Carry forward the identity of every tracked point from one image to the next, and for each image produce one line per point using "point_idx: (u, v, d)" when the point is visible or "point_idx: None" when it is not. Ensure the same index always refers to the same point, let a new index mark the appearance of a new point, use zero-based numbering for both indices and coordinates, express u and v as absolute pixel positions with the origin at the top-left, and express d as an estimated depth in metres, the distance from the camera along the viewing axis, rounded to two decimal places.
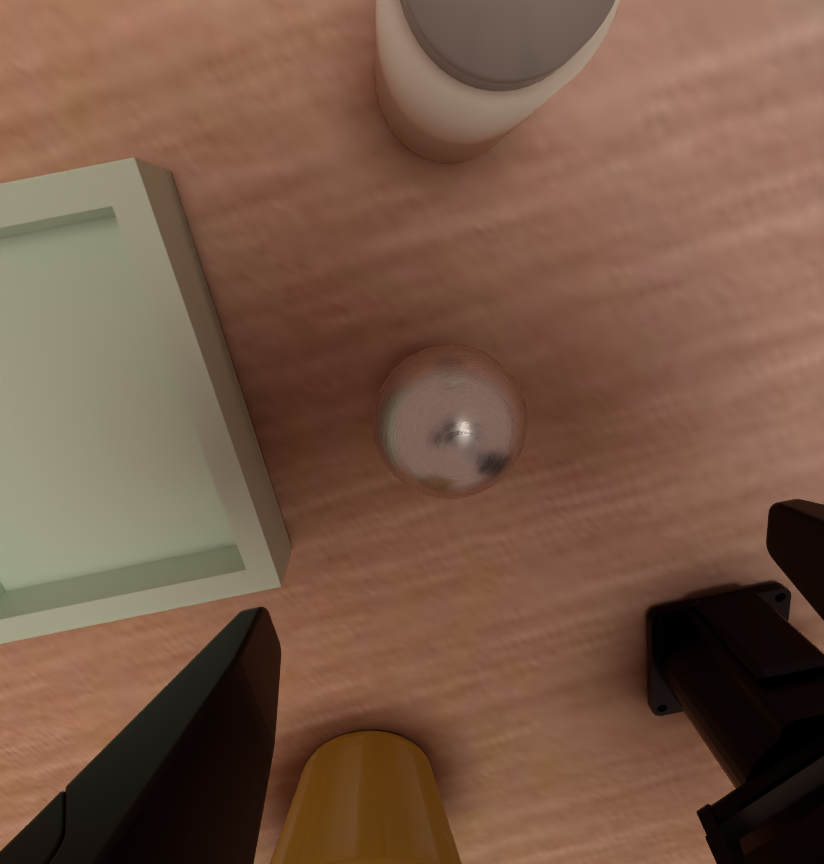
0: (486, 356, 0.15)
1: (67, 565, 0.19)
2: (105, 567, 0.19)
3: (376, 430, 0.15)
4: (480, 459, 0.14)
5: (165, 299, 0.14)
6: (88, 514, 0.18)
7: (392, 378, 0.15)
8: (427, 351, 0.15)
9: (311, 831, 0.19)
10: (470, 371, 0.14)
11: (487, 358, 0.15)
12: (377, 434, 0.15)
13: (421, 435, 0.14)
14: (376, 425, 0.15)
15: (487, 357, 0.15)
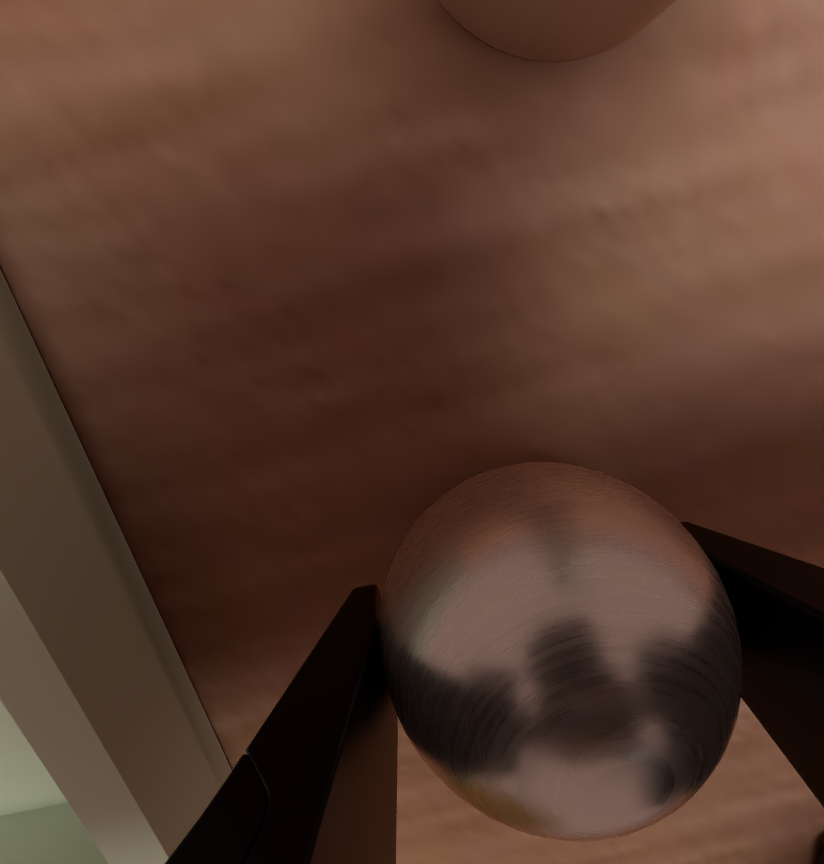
0: (648, 505, 0.06)
1: None
2: None
3: (388, 673, 0.07)
4: (664, 805, 0.05)
5: None
6: None
7: (427, 559, 0.06)
8: (509, 493, 0.06)
9: None
10: (633, 570, 0.05)
11: (654, 513, 0.06)
12: (391, 684, 0.07)
13: (511, 752, 0.05)
14: (388, 664, 0.07)
15: (651, 509, 0.06)
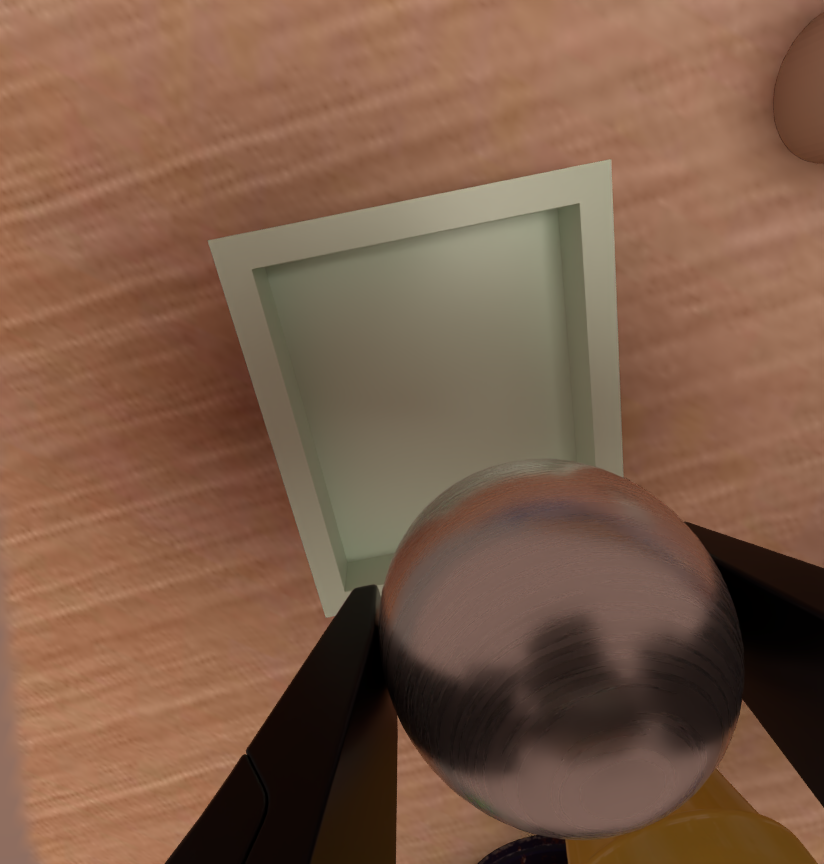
0: (649, 502, 0.06)
1: None
2: None
3: (387, 671, 0.07)
4: (666, 803, 0.05)
5: (601, 288, 0.16)
6: (438, 490, 0.20)
7: (426, 556, 0.06)
8: (509, 490, 0.06)
9: None
10: (634, 567, 0.05)
11: (655, 510, 0.06)
12: (390, 682, 0.06)
13: (511, 750, 0.05)
14: (387, 661, 0.06)
15: (652, 505, 0.06)
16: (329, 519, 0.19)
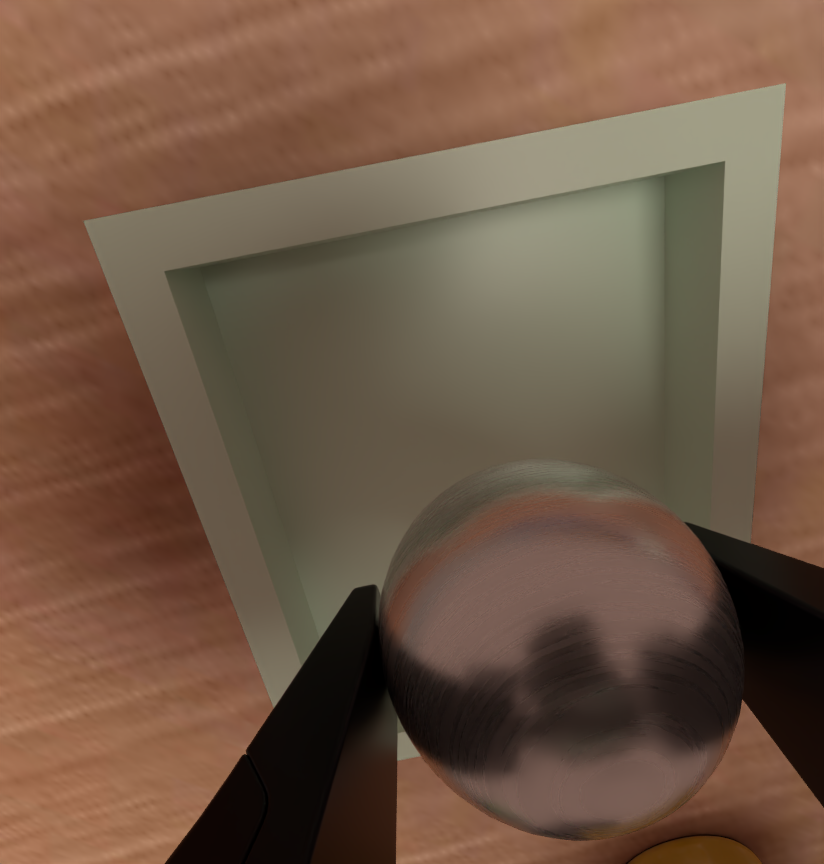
0: (649, 502, 0.06)
1: None
2: None
3: (387, 671, 0.07)
4: (666, 804, 0.05)
5: (745, 304, 0.10)
6: None
7: (426, 556, 0.06)
8: (509, 490, 0.06)
9: None
10: (635, 567, 0.05)
11: (655, 510, 0.06)
12: (390, 682, 0.06)
13: (511, 751, 0.05)
14: (387, 662, 0.06)
15: (653, 505, 0.06)
16: (306, 642, 0.13)
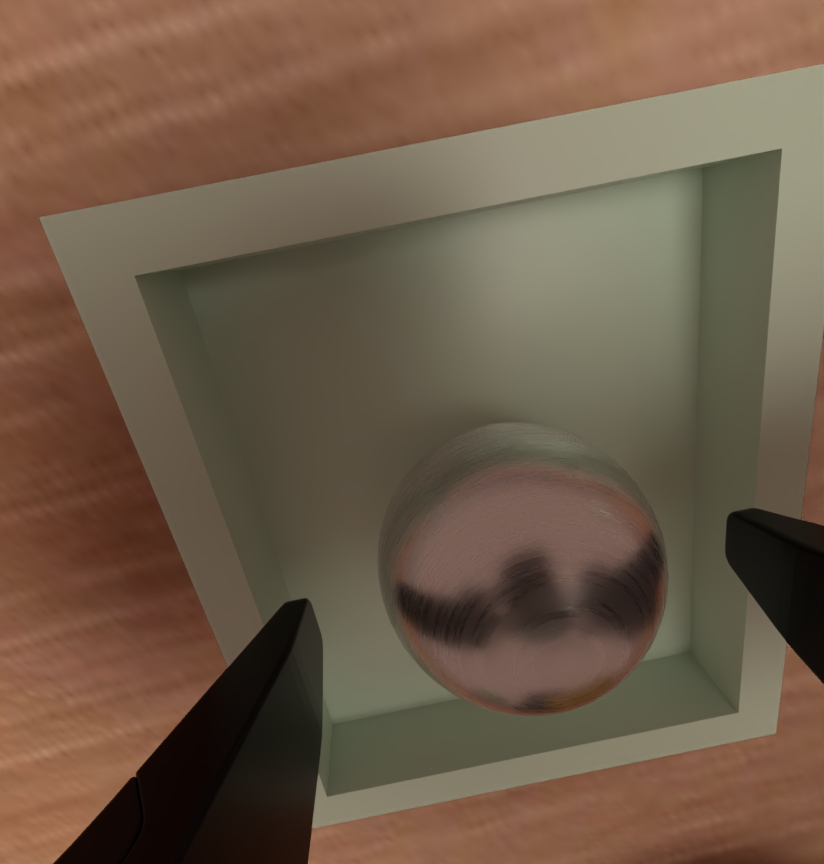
0: (594, 451, 0.08)
1: (425, 689, 0.13)
2: None
3: (385, 589, 0.08)
4: (599, 676, 0.07)
5: (798, 312, 0.08)
6: None
7: (415, 494, 0.08)
8: (482, 442, 0.08)
9: None
10: (576, 495, 0.07)
11: (598, 457, 0.08)
12: (387, 597, 0.08)
13: (479, 631, 0.07)
14: (385, 581, 0.08)
15: (597, 454, 0.08)
16: None
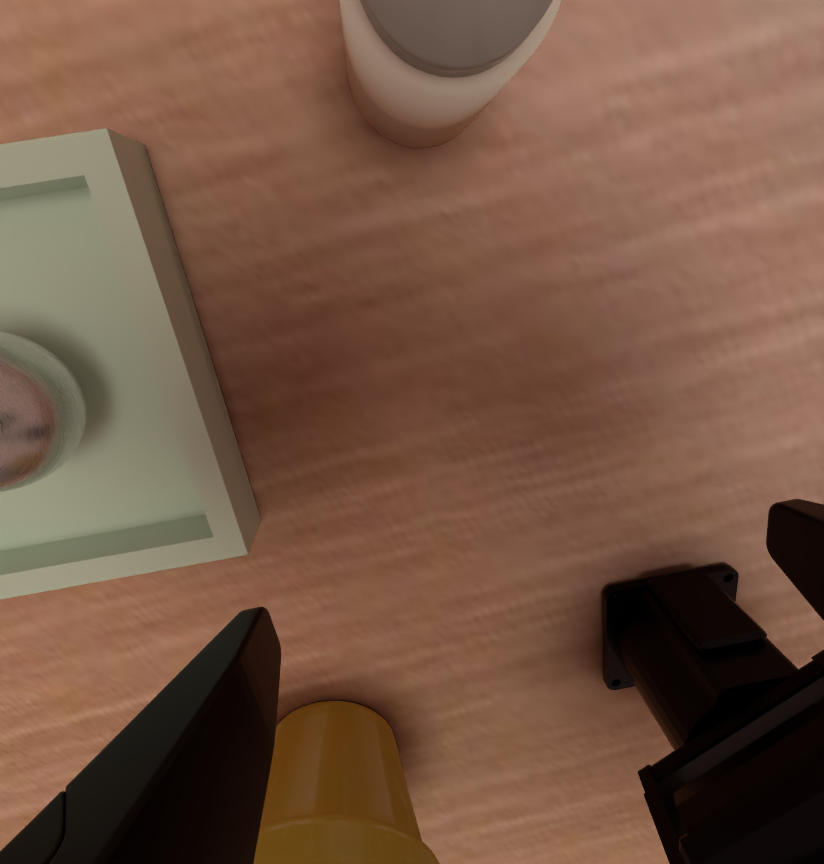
0: None
1: (38, 531, 0.19)
2: (76, 533, 0.20)
3: None
4: None
5: (136, 268, 0.15)
6: (59, 481, 0.19)
7: None
8: None
9: (272, 791, 0.20)
10: None
11: None
12: None
13: None
14: None
15: None
16: None
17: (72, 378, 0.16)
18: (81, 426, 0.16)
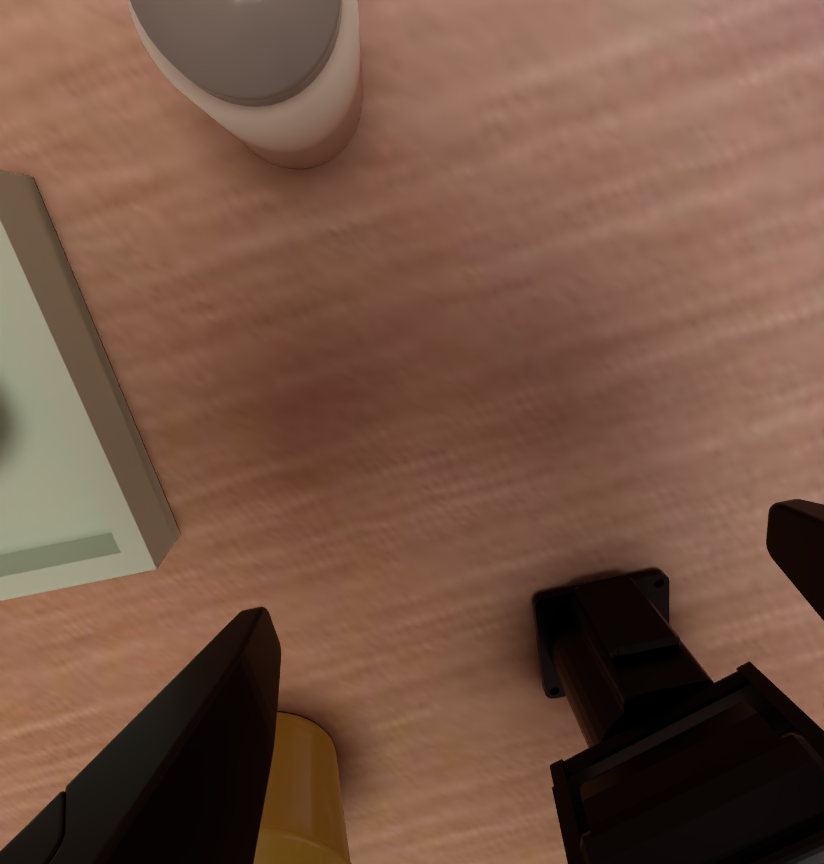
0: None
1: None
2: None
3: None
4: None
5: (17, 296, 0.15)
6: None
7: None
8: None
9: None
10: None
11: None
12: None
13: None
14: None
15: None
16: None
17: None
18: None
